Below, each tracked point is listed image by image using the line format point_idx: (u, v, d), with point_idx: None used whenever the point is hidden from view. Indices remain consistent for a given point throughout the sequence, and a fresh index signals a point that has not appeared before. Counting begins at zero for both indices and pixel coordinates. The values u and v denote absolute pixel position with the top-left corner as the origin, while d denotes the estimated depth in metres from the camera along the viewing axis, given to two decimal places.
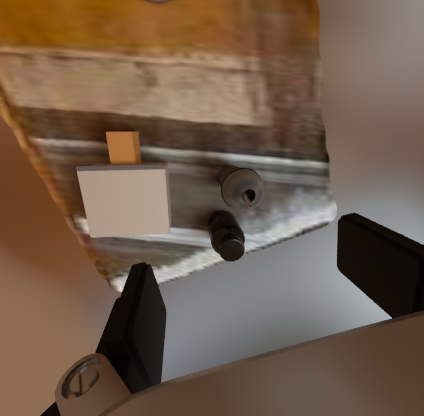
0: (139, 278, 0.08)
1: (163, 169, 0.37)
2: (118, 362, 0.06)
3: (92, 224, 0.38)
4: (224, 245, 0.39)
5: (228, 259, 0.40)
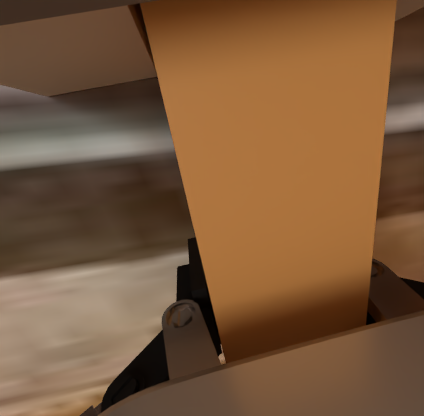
0: None
1: None
2: (200, 308, 0.07)
3: None
4: None
5: None
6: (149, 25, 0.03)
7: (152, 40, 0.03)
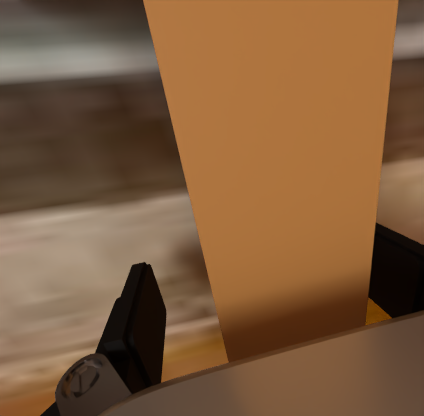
0: (139, 278, 0.08)
1: None
2: (118, 362, 0.06)
3: None
4: None
5: None
6: (149, 10, 0.03)
7: (152, 25, 0.03)
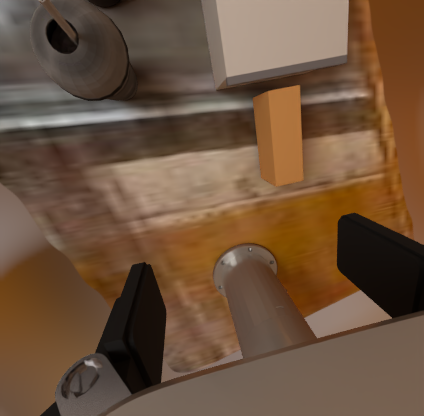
0: (139, 278, 0.08)
1: (228, 76, 0.24)
2: (118, 362, 0.06)
3: None
4: None
5: None
6: (269, 108, 0.27)
7: (270, 110, 0.27)
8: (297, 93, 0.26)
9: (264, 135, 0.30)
